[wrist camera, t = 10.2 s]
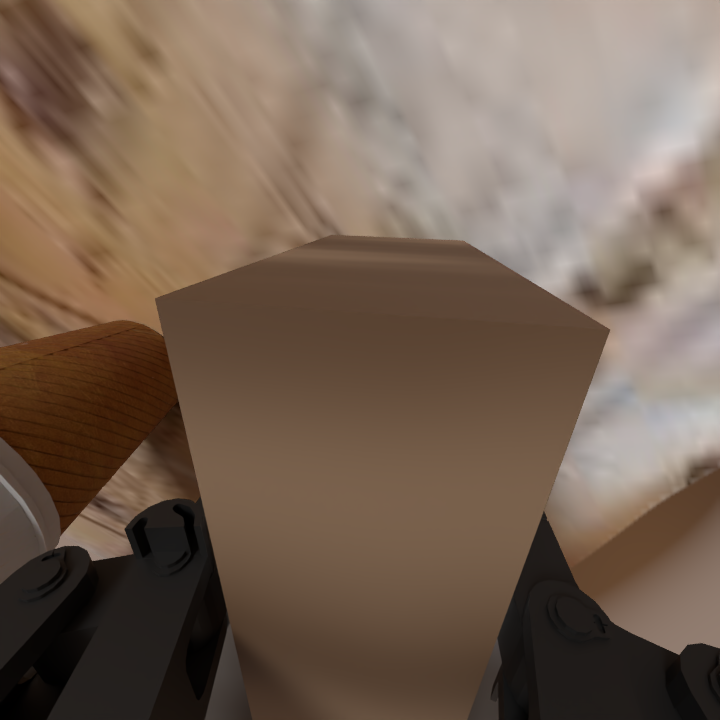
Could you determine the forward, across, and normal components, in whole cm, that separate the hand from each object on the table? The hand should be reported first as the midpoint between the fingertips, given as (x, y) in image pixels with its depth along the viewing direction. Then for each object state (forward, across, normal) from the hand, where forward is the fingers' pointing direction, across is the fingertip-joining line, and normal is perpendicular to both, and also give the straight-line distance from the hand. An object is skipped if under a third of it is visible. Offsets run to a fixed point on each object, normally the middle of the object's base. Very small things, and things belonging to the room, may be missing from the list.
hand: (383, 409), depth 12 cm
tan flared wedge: (0, 0, +1) cm, 1 cm away
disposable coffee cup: (+7, +16, +3) cm, 18 cm away
